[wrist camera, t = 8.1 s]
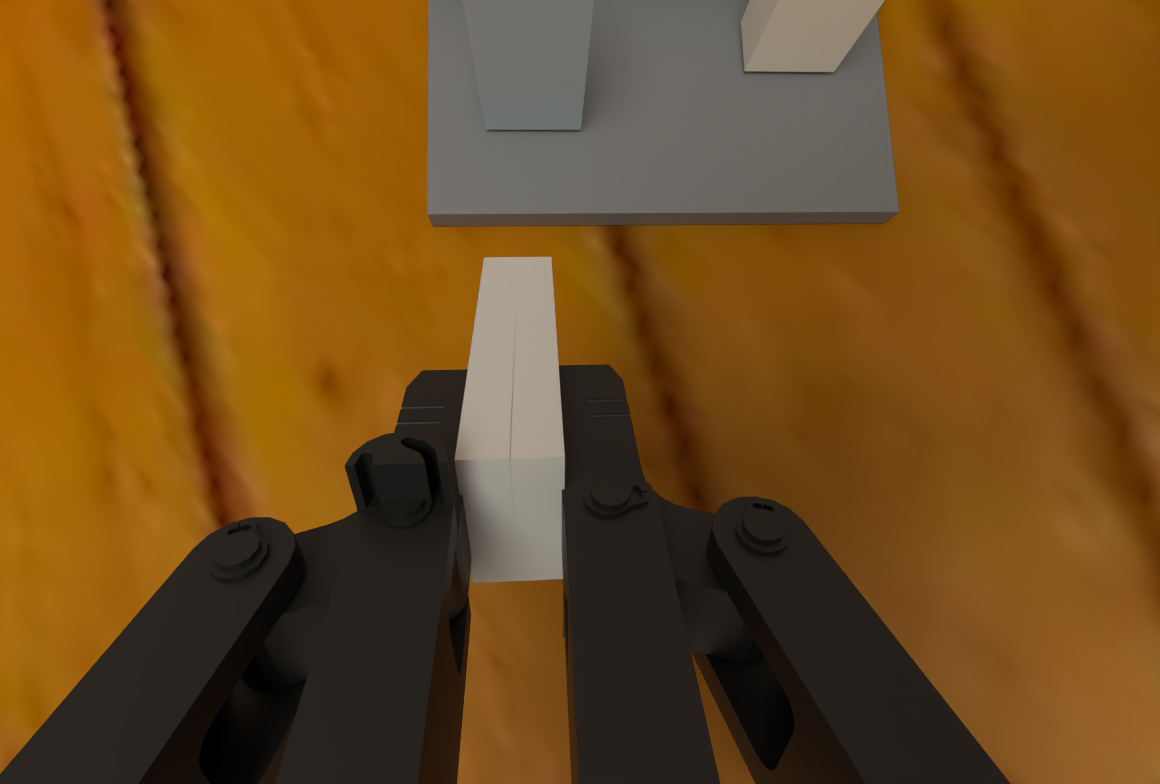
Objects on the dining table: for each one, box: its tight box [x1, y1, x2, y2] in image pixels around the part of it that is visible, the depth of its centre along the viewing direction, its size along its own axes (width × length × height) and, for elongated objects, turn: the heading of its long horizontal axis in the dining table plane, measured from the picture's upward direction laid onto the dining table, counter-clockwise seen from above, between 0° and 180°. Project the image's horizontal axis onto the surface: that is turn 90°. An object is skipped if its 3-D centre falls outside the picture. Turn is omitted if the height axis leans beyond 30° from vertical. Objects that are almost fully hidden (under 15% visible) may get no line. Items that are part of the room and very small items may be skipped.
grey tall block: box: [463, 0, 594, 130], centre depth 26 cm, size 5×3×11 cm, turn 92°
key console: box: [428, 0, 899, 226], centre depth 32 cm, size 25×16×5 cm, turn 92°
